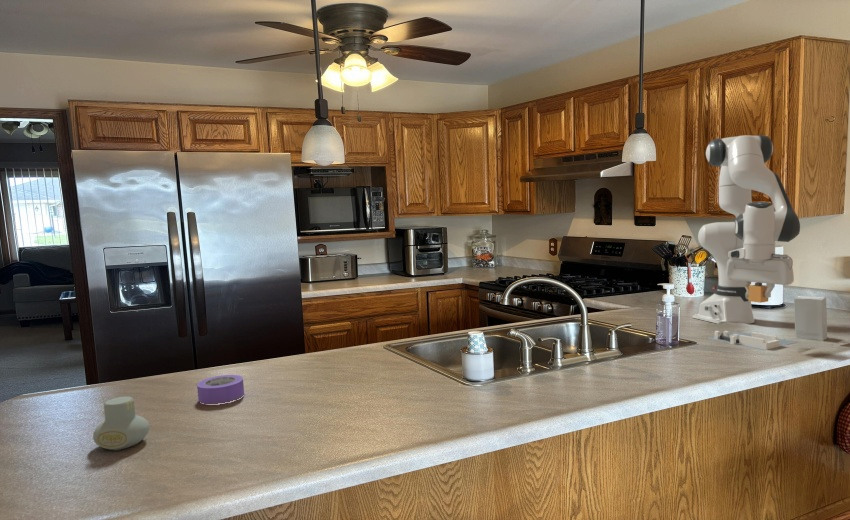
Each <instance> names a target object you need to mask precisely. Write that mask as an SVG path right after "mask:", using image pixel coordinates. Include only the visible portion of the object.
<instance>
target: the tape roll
mask: <svg viewBox="0 0 850 520" xmlns="http://www.w3.org/2000/svg"><path fill="white" fill-rule="evenodd" d="M196 388H197V398H198V403H199V402H201V403H204V404H218V403H225V402H230V401H233V400H237V399H239V398H241V397H242V396H243V395H244V396H245V387H244V378H243V376H241V375H238V374H221V375H217V376H211V377H207V378H205V379H202V380H200V381H199V382H198V383H197V384H196Z"/></svg>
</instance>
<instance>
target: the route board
mask: <svg viewBox="0 0 850 520" xmlns="http://www.w3.org/2000/svg"><path fill="white" fill-rule="evenodd" d="M713 335H714V336H713V337H709V338H708V337H707V338H706V340H710V341H715V342H719V343H720V342H722V343H726V344H730V345H734V346H739V347H745V348H749V349H754V350H759V351H767V350H771V349H775V348H781V347H784V346H789V345H792V344H796V343H798V341H793V340H789V339H788V340H787V339H783V338H778V336H777V335H771V334H765V333H759V332H754V331H753V332H750V333H748V332H745V331H744V332H743V331H737V332H732V333H730V331H728V330H723V332H722V333H721V331H719V330H715V331H714V334H713Z"/></svg>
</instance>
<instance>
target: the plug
mask: <svg viewBox="0 0 850 520" xmlns="http://www.w3.org/2000/svg"><path fill="white" fill-rule="evenodd" d="M767 288H768V287H766V285H765V284H763V283H758V282H754V284H750V286H749V296H748V301H751V303H753V302H754V303H759V304H760V303H766V302H769V298H766V297H763V292H765V291H766V290H767Z"/></svg>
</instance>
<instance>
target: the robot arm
mask: <svg viewBox="0 0 850 520" xmlns="http://www.w3.org/2000/svg"><path fill="white" fill-rule="evenodd" d="M773 152H774V145H773V142H772V139H771V137H770V136H768V135H763V134H758V135H748V134H747V135H738V136H730V137H723V138H721V137H719V138H714V139H712V140H710V141H709V143H708V144H707V147H706V150H705V157H706V160H707V162H708V164H709V165H710V166H713V167H719V168H720V171H719V177H718V205H719V208H720V209H721V210H723V212H724V211H725V212H726V213H729V214H732V215H734V216H735V219H734V221H726V222H725V221H721V222H719V221H717V222H711V223H706V224H703V225H702V226H701V227H700V228H699V231H698V233H697V234H698V235H697V241H698V243H699V245H700V246H701V247H702V248H703V249H705V250H706V251H707V252H709V254H710V255H711V256H712V257H713V258H714V260H715V263H716V266H717V273H718V274H717V275H718V276H717V277H718V284H717V285H715V286H713V287H712V289H711V290H714V293H713V294H711V296H709V297H707V298H706V299H704V300H703V301H701V302H700V304H699V308H698V312H697V313H694V314H693V315H692V318H693V319H697V320H701V321H705V322H710V323H713V324H724V323H740V324H746V325H749V324H753V323H755V318H754V314H753V309H752V308H753V306H752V302H751V301H748V296H749V286H750V285H752V283H756V282H758V283H762V284H766V287H768V288H767V290H766V291H765V292H763V297H766V298H768V299H769V298H771V297H772V295H771V294H772V291H773V290H774V289H775V285H781V286H789V285H792V284H793V283H794V280H795V278H794V277H795V276H794V270H793V265H794V264H793V263H794V262H793V261H794V260H793V258H792V256H789V255H788V254H779V253H778V254H777V253H776V242H781V243H790V242H791V241H792V240H794V239H795V238H796V237H798V235H799V234H800V231H801V222H800V219H799V216H798V215H797V213H796V211H795V210H794V208H793V206H792V204H791V201H790V198H789V197H788V194H787V192H786V189H785V187H784V184H783V183H782V180H781V178H780V176H779V175H778V173H777V172H773V171H772V170H771V169H769V168H768V166H767V165H766V163H767V162H768V161H769V160H770V159H771V158H772V155H773ZM752 191H755V192H759V193H762V194H765V195H766V196H768V197H769V198H770V201H771V202H772V203H770V202H768V201H753V200H752Z"/></svg>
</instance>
